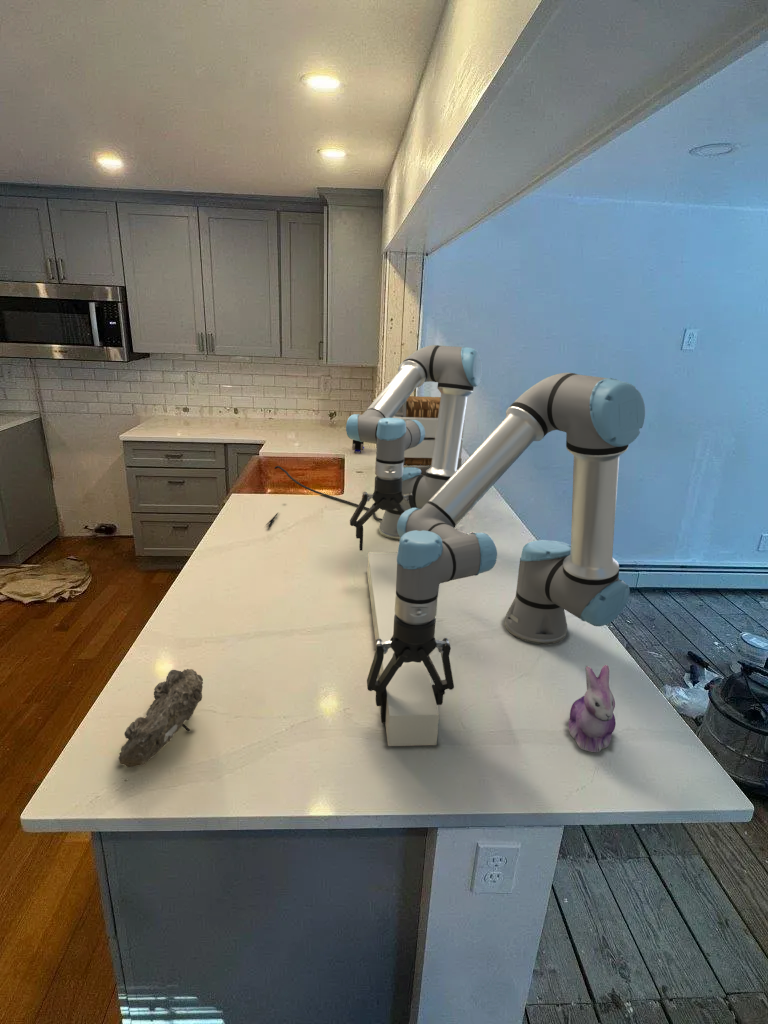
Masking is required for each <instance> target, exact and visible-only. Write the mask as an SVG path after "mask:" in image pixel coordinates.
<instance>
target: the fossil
mask: <svg viewBox="0 0 768 1024" xmlns="http://www.w3.org/2000/svg"><path fill="white" fill-rule="evenodd" d="M203 684H204V680H203V677H202V676H201V674H198V673H197V671H196V670H194V669H192V668H190V669H189V668H186V669H183V670H177V669H171V670H170V671H169V672H168V674H167V676H166V679H165V680H163V681H162V682H159V683H157V684H156V685H155V687H154V688H153V698H154V700H153V701H152V703H151V704H149V705H150V706H149V708H148V709H147V711H146V713H145V715H146V716H145V717H142V716H140V717H137V718H136V719H134V721H132V722H131V723H130V724H129V725H128V726H127V727H126V729H125V731H124V737H125V739H128V740H126V742H125V744H124V745H122V746H121V748H120V752H119V753H118V754H119V756H118V761H119V764H120V765H124V766H125V767H126V768H133V767H138V766H142V767H143V766H144V765H146V764H147V763H148V762H149V761H150V760H151V759H153V757H155V756H157V754H158V753H159V752H160V751H161V750H162V749H163V748H164V747H166V745H167V744H168V743H170V742H171V740H172V739H173V738H174V735H175V734H176V733H178V732H179V730H180V729H181V728H183V729H184V730H185V731H186V732H188V733H189V732H191V729H190V728H189V727H188V726H187V725H186V724H185V722H186V721H189V720H190V718H191V717H193V715H194V711H195V710H196V708H197V706H198V704H199V703H200V702H201V701H202V699H203V687H204V685H203Z"/></svg>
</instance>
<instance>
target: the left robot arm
mask: <svg viewBox="0 0 768 1024" xmlns="http://www.w3.org/2000/svg"><path fill="white" fill-rule="evenodd" d="M482 377H483V361H482V357H481V354H480V352H479V351H478V350H477V349H476V348H472V347H466V346H453V345H451V346H450V345H438V344H431V345H427V346H423V347H421V348H419V349H416V350H415V351H414V352H412V353H410V355H408V356H407V357H406V358H405V359H403V361H402V362H401V363H400V364H399V366H398V369H397V373H396V374H395V375H394V377H393V378H392V379H390V381H389V382H388V383H387V384H386V386H385V387H384V388H383V390H382V391H381V392H380V393H379V394H378V395H377V396H376V398H375V399H374V400H373V402H371V404H370V405H368V408H366V410H365V411H364V412H363V413H362V414H360V413H357V414H355V413H353V414H351V415H350V416H349V417H348V419H347V421H346V423H345V432H346V435H347V437H348V438H349V439H350V440H352V441H353V440H356V441H360V442H364V443H366V444H373V445H374V444H375V446H376V449H375V466H374V467H375V469H374V475H375V477H374V490H373V493H368V492H367V491H363V492H362V496H361V500H360V502H359V503H355V502H352V501H348V500H345V499H343V498H339V497H336V496H332V495H331V494H327V493H324V492H322V491H321V492H320V491H318V490H316V489H313V488H311V487H308V486H306V485H304V484H303V483H300V482H299V481H297V480H296V479H295V478H293V477H292V475H290V473H289V472H288V471H287V470H286V469H284V468H283V467H282V466H280V465H276V466H275V467H274V469H275V470H276V469H280V470H281V471H282V472H284V473H285V474H286V476H287V477H288V478H289V479H290V480H291V481H293V483H295V484H296V485H298V486H300V487H302V488H304V489H306V490H308V491H310V492H312V493H315V494H318V495H320V496H323V497H326V498H329V499H332V500H335V501H338V502H342V503H345V504H348V505H352V506H354V507H356V509H355V510H354V512H353V514H352V516H351V517H350V519H349V525H350V526H351V527H354V528H355V538H356V539H359V546H358V547H359V551H360V552H363V548H364V547H363V546H364V524H366V522H368V520H369V519H370V518H371V517H373V519H375V520H376V521H379V525H378V533H379V534H380V535H381V536H382V537H385V538H387V539H389V540H395V541H400V536H399V534H398V532H397V523H398V520H399V518H400V516H401V515H402V513H403V512H405V511H406V510H408V509H411V508H419V509H422V507H423V506H424V505H425V504H427V502H428V501H429V500H430V499H431V498H432V497H433V496H434V495H435V493H436V492H437V491H438V490H439V489H440V488H441V487H442V486H443V485H444V484H445V483H446V482H447V481H448V479H449V478H450V477H451V476H452V475H453V474H454V473H455V472H456V471H457V465H458V458H459V451H460V444H461V440H462V438H461V437H462V431H463V424H464V425H465V421H464V420H465V416H466V410H467V409H466V408H467V401H468V397H469V396H470V395H472V394H473V393H474V388H475V387H478V386H479V385H480V384H481V380H482ZM428 382H432V383H437V386H436V387H437V390H438V391H439V392H440V397H441V399H440V406H439V413H438V420H437V428H436V435H435V442H434V449H433V456H432V464H431V465H430V466H429V468H427V469H426V470H425V474H422V470H421V468H419V467H415V466H411V467H410V466H406V467H405V466H404V468H403V463H404V451H405V450H407V449H410V448H413V447H416V446H417V445H418V444H420V443H421V442H422V441H423V440H424V437H425V429H424V427H423V425H422V424H421V423H420V422H419V421H417V420H406V421H404V420H403V419H399V418H393V417H394V415H395V414H396V413H397V411H398V410H399V409H400V408H401V406H402V405H403V404H404V403H405V401H406V400H407V399H408V397H409V396H411V395H412V394H413V393H414V391H415V390H416V389H417V388H420V387H422V386H423V385H424V384H425V383H428ZM371 499H372V501H374V502H373V503H372V505H371V506H370V507H367V506H366V504H367V502H370V501H371ZM363 510H366V511H365V513H364V514H363V515H362V512H363ZM379 510H381V511H384V513H383V515H382V517H381V518H380V517H378V516H377V515H376V512H378V511H379ZM360 515H362V516H360Z"/></svg>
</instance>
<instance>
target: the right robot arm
mask: <svg viewBox="0 0 768 1024" xmlns="http://www.w3.org/2000/svg"><path fill="white" fill-rule="evenodd" d="M645 419H646V406H645V401H644V398H643V395H642V393H641V392H640V390H639V389H637V388H636V386H635V385H633V384H632V383H629V382H627V381H622V380H619V379H617V378H613V377H602V376H601V377H600V376H593V375H587V374H586V375H585V374H578V373H575V372H560V373H556V374H553V375H549V376H547V377H545V378H543V379H541V380H540V381H538V382H537V383H536V384H534V385H532V386H531V387H530V388H529V389H526V390H525V391H524V392H523V393H522V394H521V395H519V396H518V397H517V399H515V400H514V401H513V402H512V403H511V404H510V406H508V407H507V408H506V410H505V418H504V419H503V420H502V421H501V422H500V423H499V424H498V425H497V426H496V428H495V429H493V430H492V432H491V433H490V434H489V435H488V436H487V437H486V438H485V439H484V440H483V441H482V443H480V445H479V446H478V447H477V448H476V449H475V450H474V451H473V452H472V453H471V454H470V455H469V456H468V458H467V459H465V461H464V462H463V463H461V467H460V468H459V469H458V470H457V471H456V472H455V473H454V474H453V475H452V476H451V477H450V478H449V479H448V481H447V482H446V483H445V484H444V485H443V486H442V487H441V488H440V489H439V490H438V491H437V492H436V493H435V495H434V496H433V497H432V498H431V499H430V500H429V501H428V502H427V504H425V505H424V506H423V507H422V509H419V508H411V509H408V510H406V511H405V512H403V513H402V515H401V516H400V518H399V520H398V523H397V532H398V534H399V536H400V540H398V541H399V542H398V547H397V548H398V549H397V552H398V555H397V578H396V596H395V616H394V629H393V636H392V638H391V639H390V640H389V641H382V640H381V639H377V640H376V642H375V653H374V656H373V659H372V663H371V665H370V669H369V672H368V675H367V678H366V686H367V687H366V688H367V689H366V690H367V691H369V692H372V691H374V692H375V705H376V707H380V720H381V724H385V722H386V704H387V690H386V687H387V685H388V684H389V682H390V681H391V679H392V678H393V676H394V675H395V673H396V671H397V670H398V668H399V667H401V666H402V664H403V663H409V662H421V661H423V663H424V665H425V667H426V668H427V670H428V672H429V676H430V679H431V681H432V682H433V684H432V688H433V692H434V696H435V700H436V704H437V706H442V705H443V703H444V695H445V694H446V690H449V691H452V690H454V688H455V684H454V678H453V672H452V666H451V661H450V654H451V649H452V647H451V644H450V641H449V639H448V638H447V637H444V638H442V639H441V640H439V639H436V637H435V633H436V622H437V619H436V616H437V610H438V597H439V589H440V584H444V583H447V582H450V581H456V580H461V579H464V578H469V577H470V578H471V577H474V576H475V577H476V576H479V574H483V573H486V572H489V571H492V569H493V568H494V567H495V565H496V563H497V559H498V550H497V549H498V548H497V546H496V543H495V542H494V540H493V538H492V537H491V535H489V534H488V533H485V532H471V533H465V532H462V531H461V530H459V529H457V528H456V527H457V525H458V524H459V523H460V522H461V521H462V520H463V519H464V517H465V516H467V514H469V512H470V511H471V510H472V509H473V508H474V507H475V505H477V503H478V502H479V501H481V499H482V498H483V497H484V496H485V495H486V494H487V492H489V490H490V489H491V488H492V487H493V486H494V485H495V484H496V483H497V482H498V481H499V479H501V477H502V476H503V475H504V474H505V473H507V471H508V470H509V469H510V467H512V466H513V464H514V463H516V461H517V460H518V459H519V458H520V457H521V456H522V454H523V453H525V451H526V450H527V449H528V448H529V447H530V446H531V444H532V443H533V442H539V441H542V440H543V439H544V438H545V437H546V436H547V434H549V433H551V432H553V431H559V432H563V433H566V435H565V438H566V439H565V440H566V441H565V447H566V450H567V452H569V453H570V454H571V455H573V466H572V469H573V471H572V495H571V496H572V500H571V527H570V528H571V529H570V544H568V543H566V542H563V541H559V540H550V539H540V540H533V541H529V542H527V543H525V545H523V547H522V549H521V554H520V557H519V564H518V565H519V566H518V575H517V583H516V591H515V597H514V598H513V600H512V602H511V604H510V606H509V607H508V610H507V612H506V613H505V618H504V627H505V629H506V631H508V633H510V634H511V635H512V636H514V637H515V638H517V639H520V640H522V641H525V642H528V643H530V644H531V643H532V644H537V645H553V644H557V643H560V642H561V641H563V640H564V639H565V638H566V637H567V634H568V633H567V632H568V622H567V618H566V617H567V616H566V613H565V611H566V612H568V613H569V614H571V615H573V616H574V617H576V618H578V619H579V620H580V621H581V622H586V623H588V624H589V625H591V626H594V627H604V626H606V625H608V624H610V623H612V622H613V621H614V620H615V619H616V618H618V616H620V614H621V613H622V611H623V610H624V608H625V607H626V605H627V603H628V600H629V597H630V594H631V590H630V586H629V584H628V583H626V581H625V580H622V579H620V577H619V576H620V565H619V562H618V561H617V559H616V558H614V557H613V553H614V541H615V528H616V527H615V526H616V525H615V524H616V511H617V497H618V495H617V494H618V482H619V481H618V480H619V467H620V456H622V454H625V452H627V451H628V450H629V445H630V444H632V443H633V442H634V441H636V439H638V437H639V436H640V434H641V431H640V429H642V428H643V426H644V424H645ZM389 648H392V650H393V651H394V654H393V657H392V659H391V660H390V662H389V663H388V665H387V666H386V668H385V669H384V671H383V673H382V674H381V676H380V675H379V671H380V668H381V665H382V662H383V658H384V654H386V653H387V651H388V649H389ZM436 648H437V651H438V653H440V657H441V663H442V668H443V674H444V679H442V678H441V676H440V674H439V672H438V670H437V668H436V667H435V664H434V662H433V660H432V659H431V656H430V655H431V653H433V651H434V650H435V649H436Z"/></svg>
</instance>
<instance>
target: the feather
mask: <svg viewBox="0 0 768 1024" xmlns="http://www.w3.org/2000/svg"><path fill="white" fill-rule="evenodd" d="M278 513H279V512H277V513H276V514H275V515H274V516H273V517H272V518H271V519H269V521H268V522H267V523H266V524H265V526H267V525H268V529H267V530H269V529H270V528H271V526H272V524H273V523H274V521H275V520H276V517H277V516H278Z"/></svg>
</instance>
